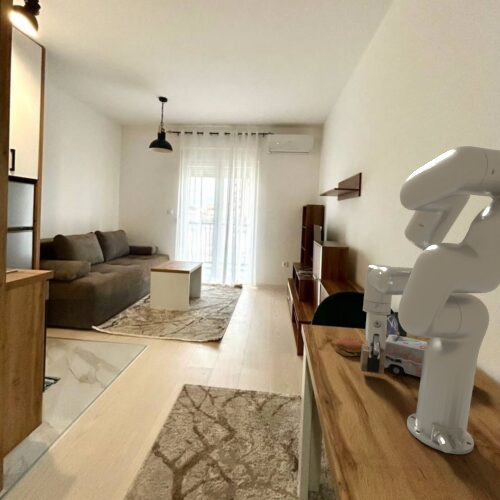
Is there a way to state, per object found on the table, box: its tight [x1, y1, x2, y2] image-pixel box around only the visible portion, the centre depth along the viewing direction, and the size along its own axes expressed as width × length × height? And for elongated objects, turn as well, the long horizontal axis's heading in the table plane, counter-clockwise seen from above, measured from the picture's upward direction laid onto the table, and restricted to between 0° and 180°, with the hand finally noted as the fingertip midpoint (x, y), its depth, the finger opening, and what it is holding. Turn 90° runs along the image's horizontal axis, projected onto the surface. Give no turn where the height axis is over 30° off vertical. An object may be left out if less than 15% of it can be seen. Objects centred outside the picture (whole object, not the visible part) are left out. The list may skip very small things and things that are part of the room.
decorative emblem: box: [386, 311, 408, 340], centre depth 117 cm, size 12×2×15 cm, turn 0°
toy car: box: [384, 335, 475, 391], centre depth 99 cm, size 11×25×10 cm, turn 61°
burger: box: [334, 337, 364, 357], centre depth 114 cm, size 10×9×5 cm
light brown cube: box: [359, 344, 385, 375], centre depth 96 cm, size 6×6×6 cm
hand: (371, 366), depth 96 cm, fingers closed on light brown cube, 6 cm apart
